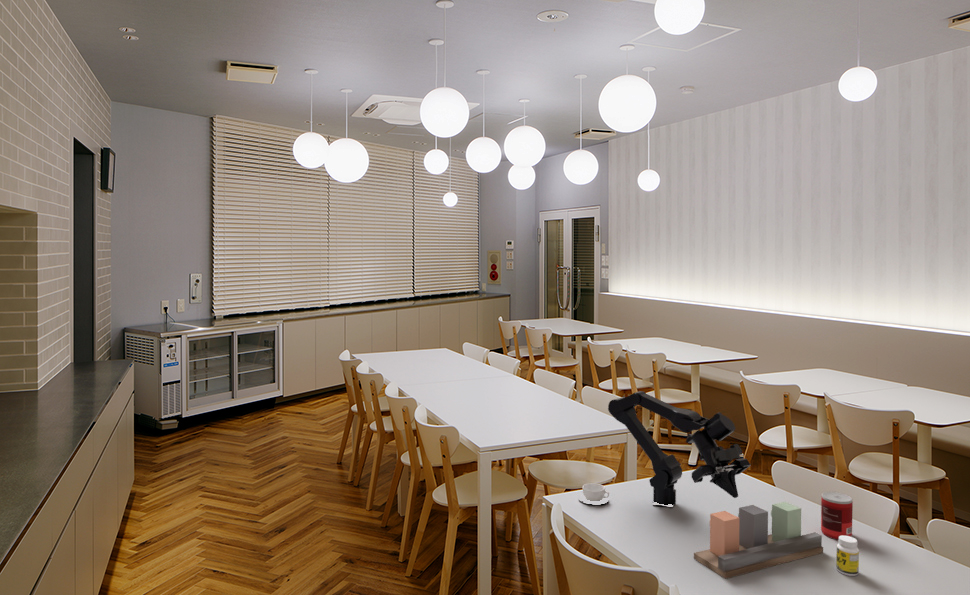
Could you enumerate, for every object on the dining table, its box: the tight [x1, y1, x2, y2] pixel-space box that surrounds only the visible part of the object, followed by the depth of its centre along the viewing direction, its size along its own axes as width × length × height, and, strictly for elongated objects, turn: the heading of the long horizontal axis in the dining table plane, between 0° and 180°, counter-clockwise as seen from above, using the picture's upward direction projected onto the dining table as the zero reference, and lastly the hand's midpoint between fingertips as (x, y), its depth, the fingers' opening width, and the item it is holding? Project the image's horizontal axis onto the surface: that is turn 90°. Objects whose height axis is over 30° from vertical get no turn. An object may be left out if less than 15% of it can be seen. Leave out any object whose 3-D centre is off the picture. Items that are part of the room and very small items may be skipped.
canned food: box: [820, 491, 854, 540], centre depth 166 cm, size 8×8×11 cm
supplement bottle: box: [835, 535, 860, 577], centre depth 145 cm, size 5×5×8 cm
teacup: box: [582, 482, 610, 501], centre depth 193 cm, size 10×10×5 cm
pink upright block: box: [709, 510, 739, 556], centre depth 152 cm, size 6×5×10 cm
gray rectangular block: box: [737, 504, 769, 549], centre depth 156 cm, size 6×5×10 cm
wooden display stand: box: [693, 532, 824, 580], centre depth 154 cm, size 11×34×4 cm, turn 112°
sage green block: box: [770, 501, 802, 542], centre depth 158 cm, size 6×5×10 cm
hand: (736, 497), depth 168 cm, fingers closed
